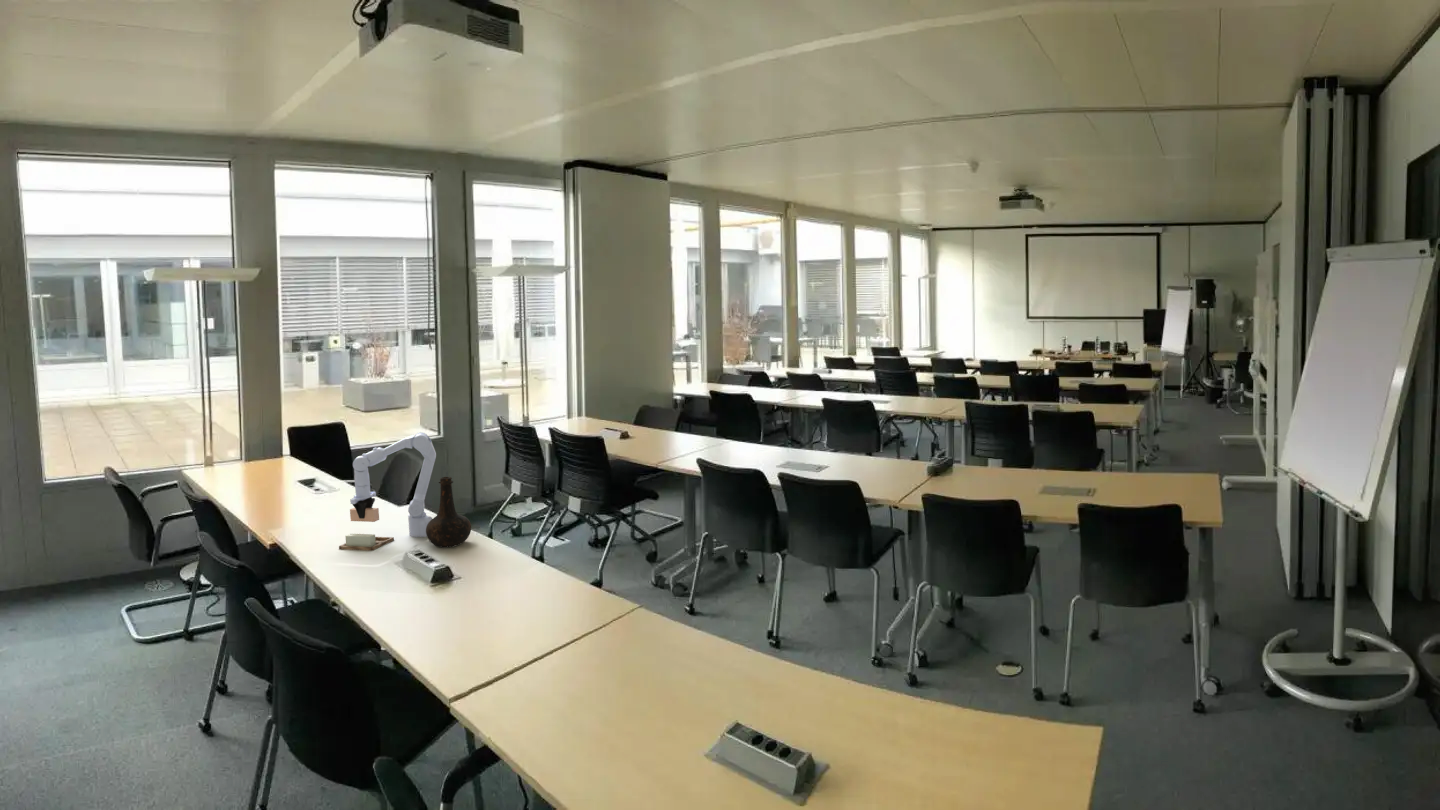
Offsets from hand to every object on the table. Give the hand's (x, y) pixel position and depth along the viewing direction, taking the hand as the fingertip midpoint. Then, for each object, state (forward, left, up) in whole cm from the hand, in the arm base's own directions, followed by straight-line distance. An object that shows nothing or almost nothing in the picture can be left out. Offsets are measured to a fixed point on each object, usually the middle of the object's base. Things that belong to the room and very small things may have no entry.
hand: (364, 517), depth 356 cm
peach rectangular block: (0, 0, -1) cm, 1 cm away
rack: (-5, +7, -10) cm, 14 cm away
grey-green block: (-5, +11, -10) cm, 15 cm away
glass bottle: (-38, 0, -11) cm, 39 cm away
